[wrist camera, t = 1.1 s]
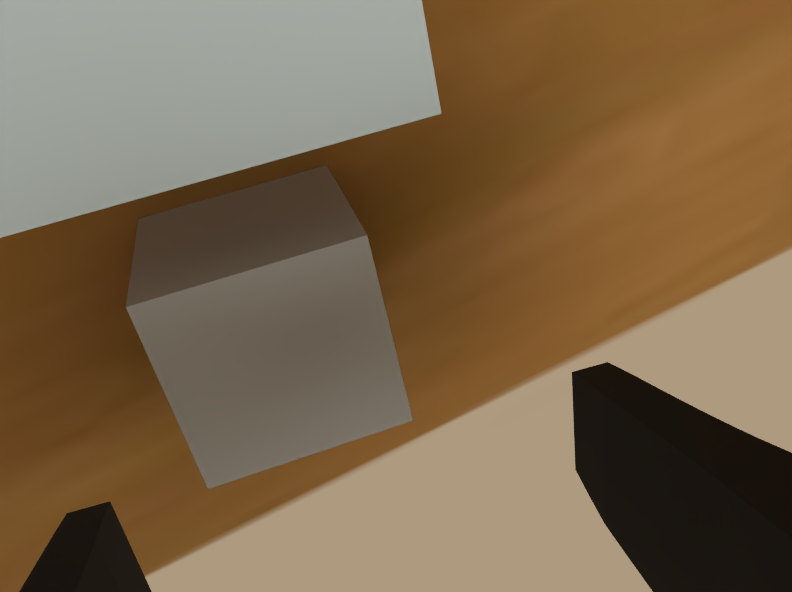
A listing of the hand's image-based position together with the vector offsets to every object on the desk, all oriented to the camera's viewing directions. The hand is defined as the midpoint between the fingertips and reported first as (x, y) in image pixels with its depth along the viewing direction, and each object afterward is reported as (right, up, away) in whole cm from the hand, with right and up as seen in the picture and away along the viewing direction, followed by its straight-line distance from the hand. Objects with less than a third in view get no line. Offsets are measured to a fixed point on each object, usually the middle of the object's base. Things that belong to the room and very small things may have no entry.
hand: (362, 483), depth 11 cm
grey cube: (-3, +3, +9) cm, 10 cm away
